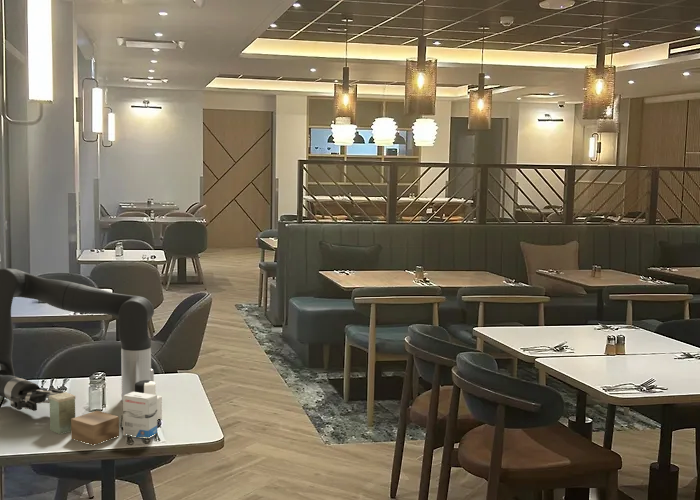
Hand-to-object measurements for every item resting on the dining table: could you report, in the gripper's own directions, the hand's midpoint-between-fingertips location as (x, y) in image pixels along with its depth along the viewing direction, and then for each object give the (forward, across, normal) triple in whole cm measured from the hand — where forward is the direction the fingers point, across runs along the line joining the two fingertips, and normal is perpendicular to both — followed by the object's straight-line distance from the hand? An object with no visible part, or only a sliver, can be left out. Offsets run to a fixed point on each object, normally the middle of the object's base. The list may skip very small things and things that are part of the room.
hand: (49, 404), depth 231 cm
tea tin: (+7, 0, +6) cm, 9 cm away
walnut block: (+19, +3, +6) cm, 20 cm away
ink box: (+26, +13, +6) cm, 30 cm away
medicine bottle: (+17, +21, +6) cm, 28 cm away
